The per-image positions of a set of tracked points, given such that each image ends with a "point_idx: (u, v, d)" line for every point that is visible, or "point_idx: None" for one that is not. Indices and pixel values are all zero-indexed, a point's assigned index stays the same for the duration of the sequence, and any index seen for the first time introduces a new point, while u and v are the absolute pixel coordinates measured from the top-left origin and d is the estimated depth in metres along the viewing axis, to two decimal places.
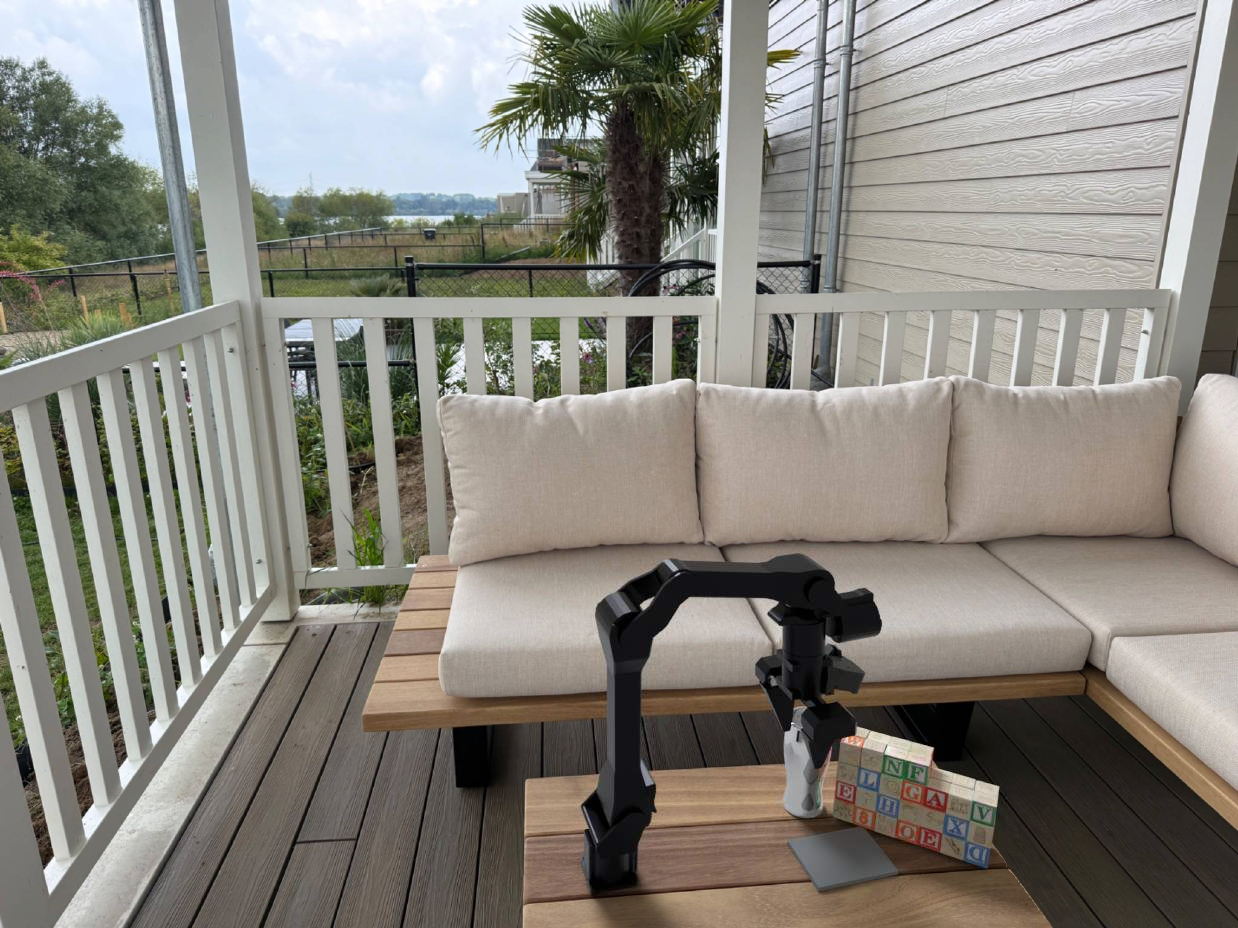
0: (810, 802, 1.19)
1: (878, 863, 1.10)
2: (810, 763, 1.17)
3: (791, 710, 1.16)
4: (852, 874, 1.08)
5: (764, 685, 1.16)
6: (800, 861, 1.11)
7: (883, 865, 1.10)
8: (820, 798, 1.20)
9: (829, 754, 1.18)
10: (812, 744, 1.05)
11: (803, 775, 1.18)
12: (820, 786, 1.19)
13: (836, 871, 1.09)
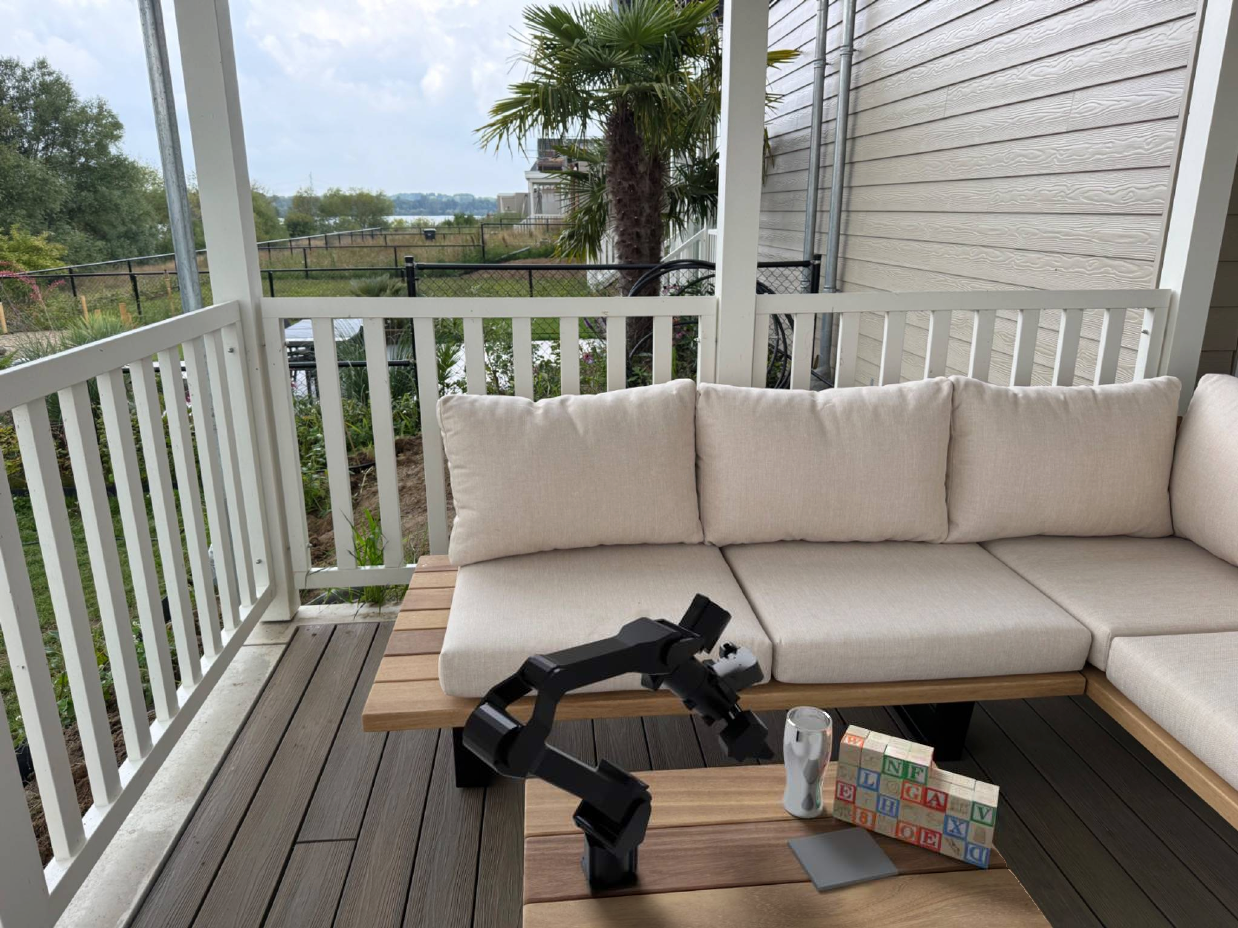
0: (810, 802, 1.19)
1: (878, 863, 1.10)
2: (810, 763, 1.17)
3: (736, 705, 1.20)
4: (852, 874, 1.08)
5: None
6: (800, 861, 1.11)
7: (883, 865, 1.10)
8: (820, 798, 1.20)
9: (829, 754, 1.18)
10: None
11: (802, 775, 1.18)
12: (820, 786, 1.19)
13: (836, 871, 1.09)
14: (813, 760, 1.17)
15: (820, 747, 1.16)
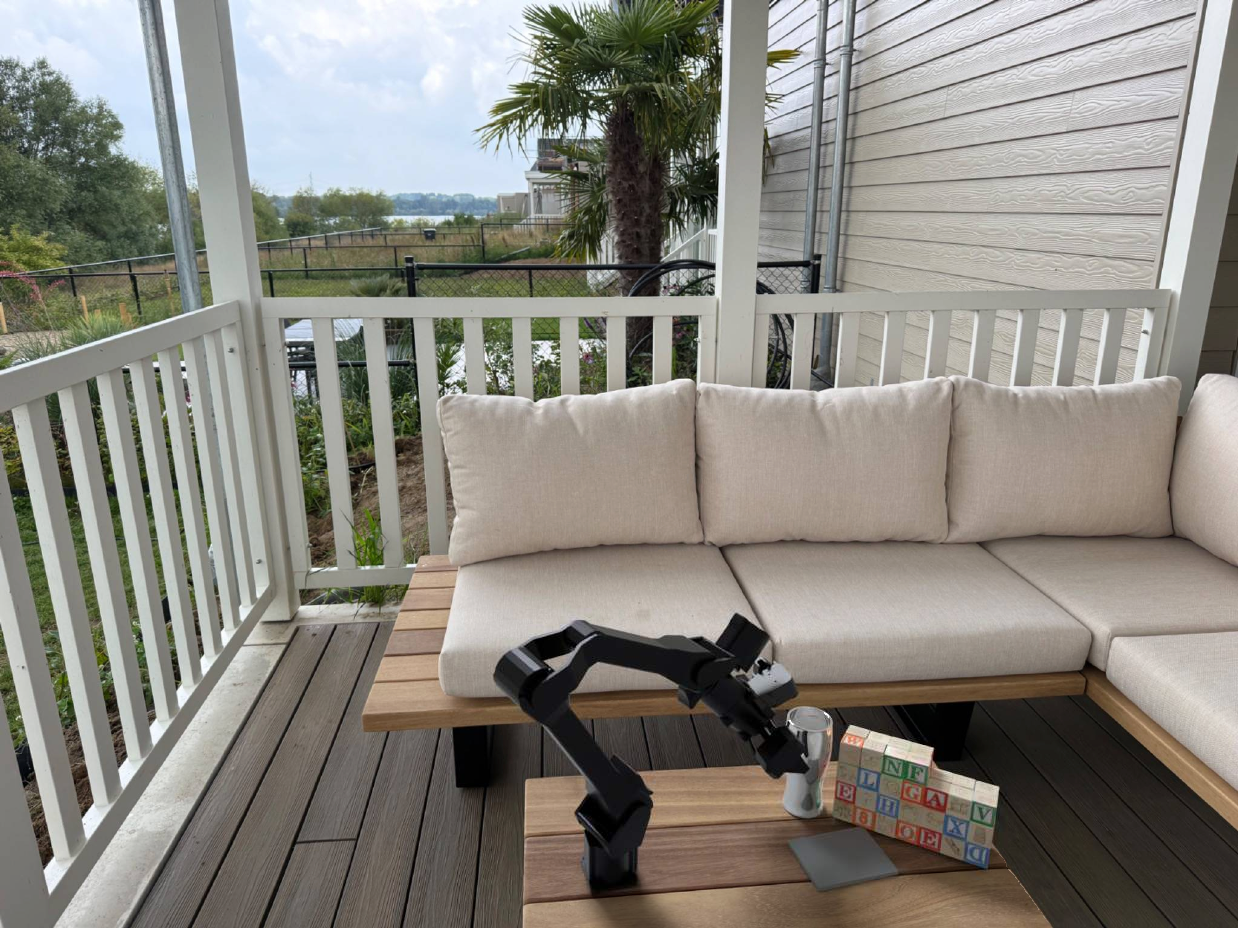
0: (810, 802, 1.19)
1: (878, 863, 1.10)
2: (810, 763, 1.17)
3: None
4: (852, 874, 1.08)
5: None
6: (800, 861, 1.11)
7: (883, 865, 1.10)
8: (820, 798, 1.20)
9: (829, 754, 1.18)
10: None
11: (803, 775, 1.18)
12: (820, 786, 1.19)
13: (836, 871, 1.09)
14: (813, 760, 1.17)
15: (820, 747, 1.16)
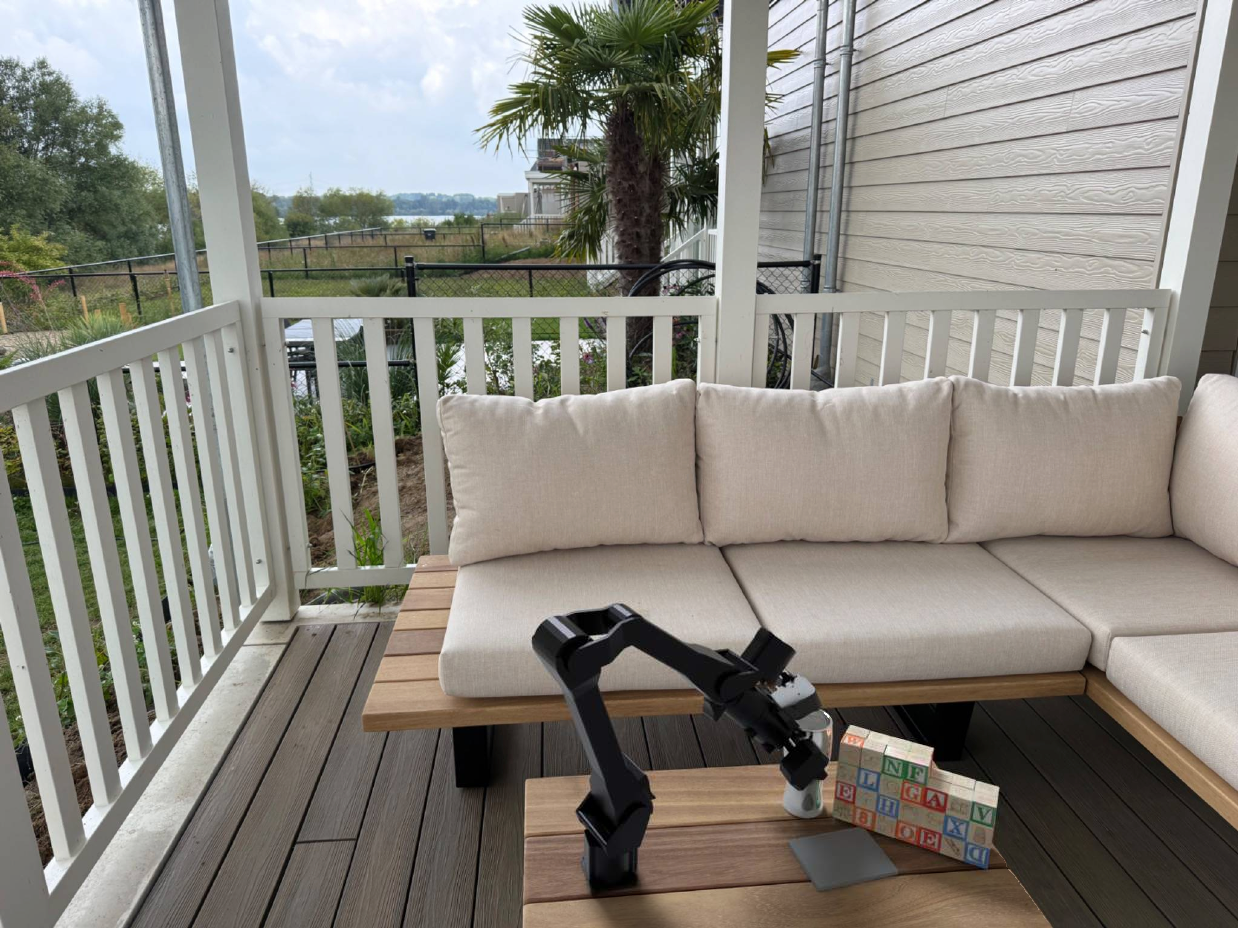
0: (810, 802, 1.19)
1: (878, 863, 1.10)
2: None
3: None
4: (852, 874, 1.08)
5: None
6: (800, 861, 1.11)
7: (883, 865, 1.10)
8: (820, 798, 1.20)
9: (829, 754, 1.18)
10: None
11: None
12: (820, 786, 1.19)
13: (836, 871, 1.09)
14: None
15: (820, 747, 1.16)
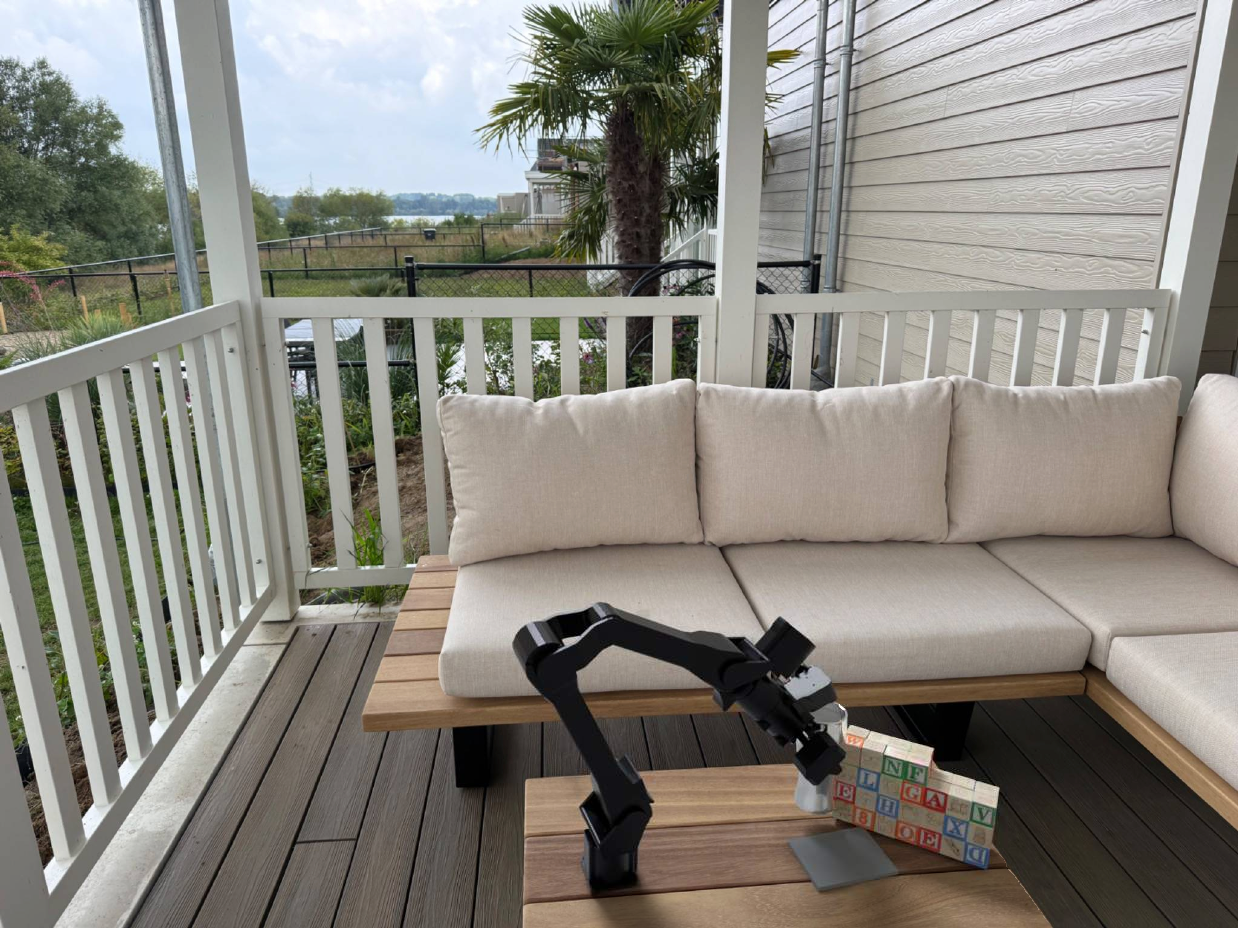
0: (823, 798, 1.15)
1: (878, 863, 1.10)
2: None
3: None
4: (852, 874, 1.08)
5: None
6: (800, 861, 1.11)
7: (883, 865, 1.10)
8: (834, 794, 1.16)
9: (844, 748, 1.13)
10: None
11: None
12: (834, 781, 1.15)
13: (836, 871, 1.09)
14: None
15: None
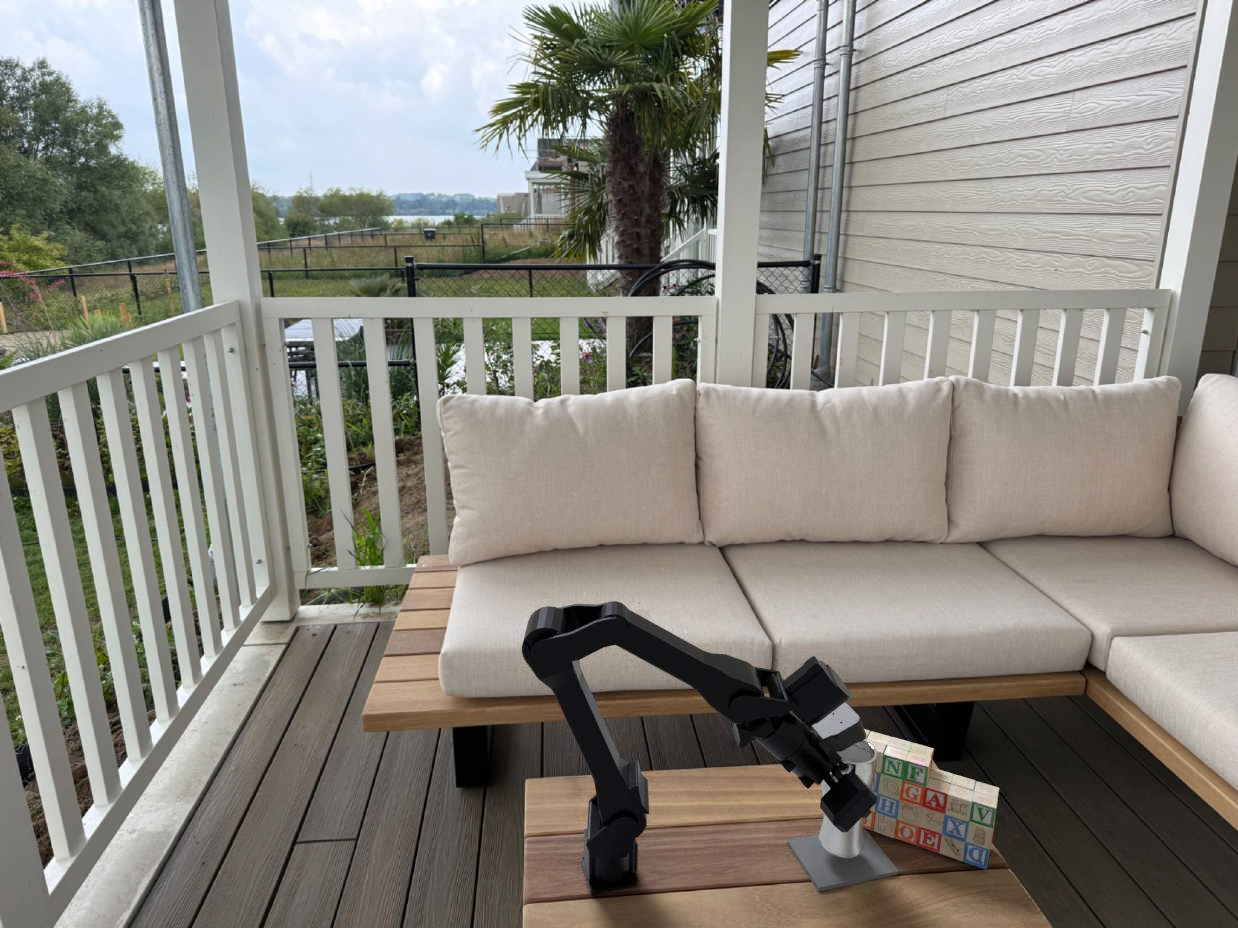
0: (851, 841, 1.08)
1: (878, 863, 1.10)
2: None
3: None
4: (852, 874, 1.08)
5: None
6: (800, 861, 1.11)
7: (883, 865, 1.10)
8: (861, 836, 1.09)
9: (873, 789, 1.06)
10: None
11: None
12: (862, 823, 1.08)
13: (836, 871, 1.09)
14: None
15: None
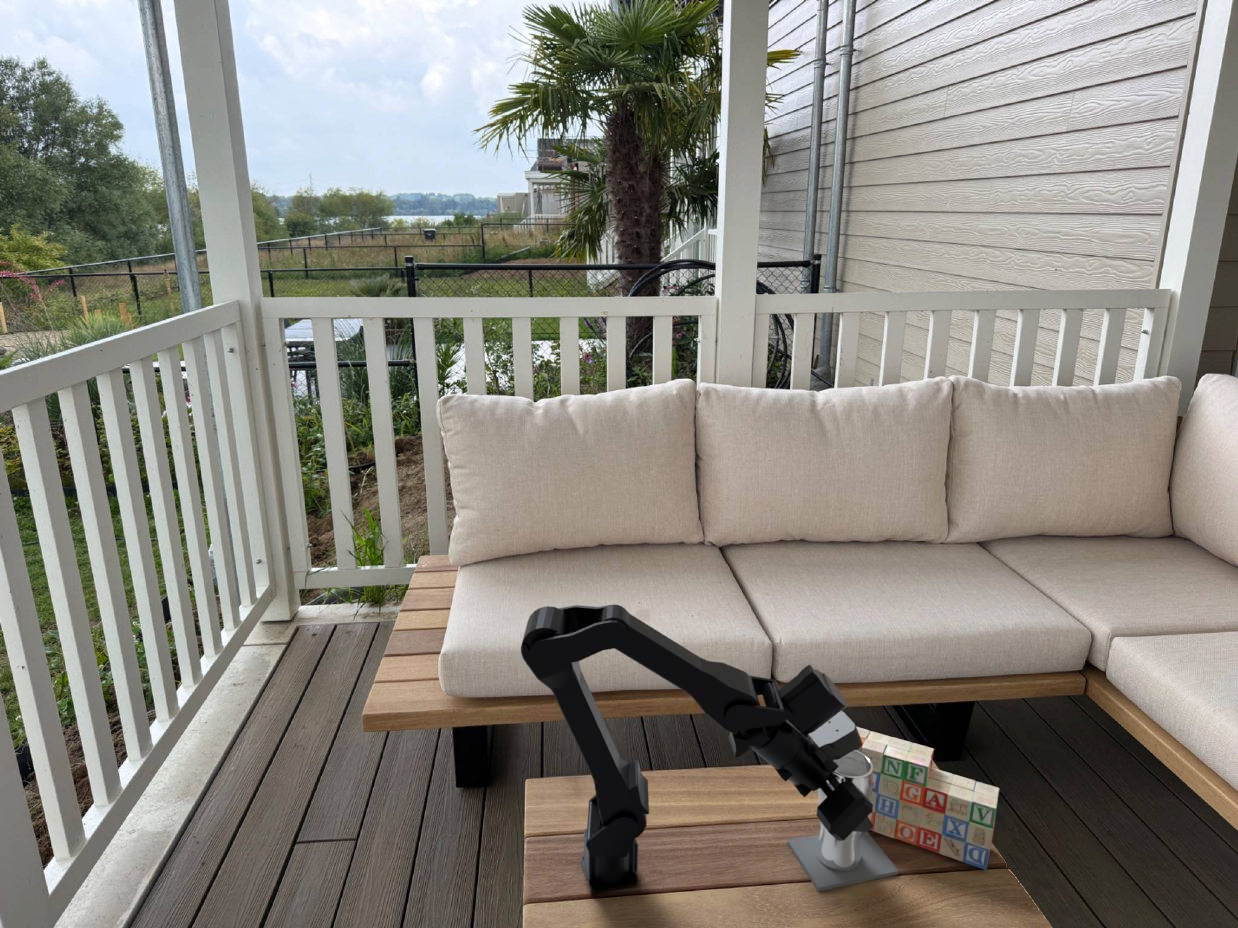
0: (847, 854, 1.08)
1: (878, 863, 1.10)
2: None
3: None
4: (852, 874, 1.08)
5: None
6: (800, 861, 1.11)
7: (883, 865, 1.10)
8: (858, 849, 1.09)
9: None
10: None
11: None
12: (858, 836, 1.08)
13: (836, 871, 1.09)
14: None
15: None
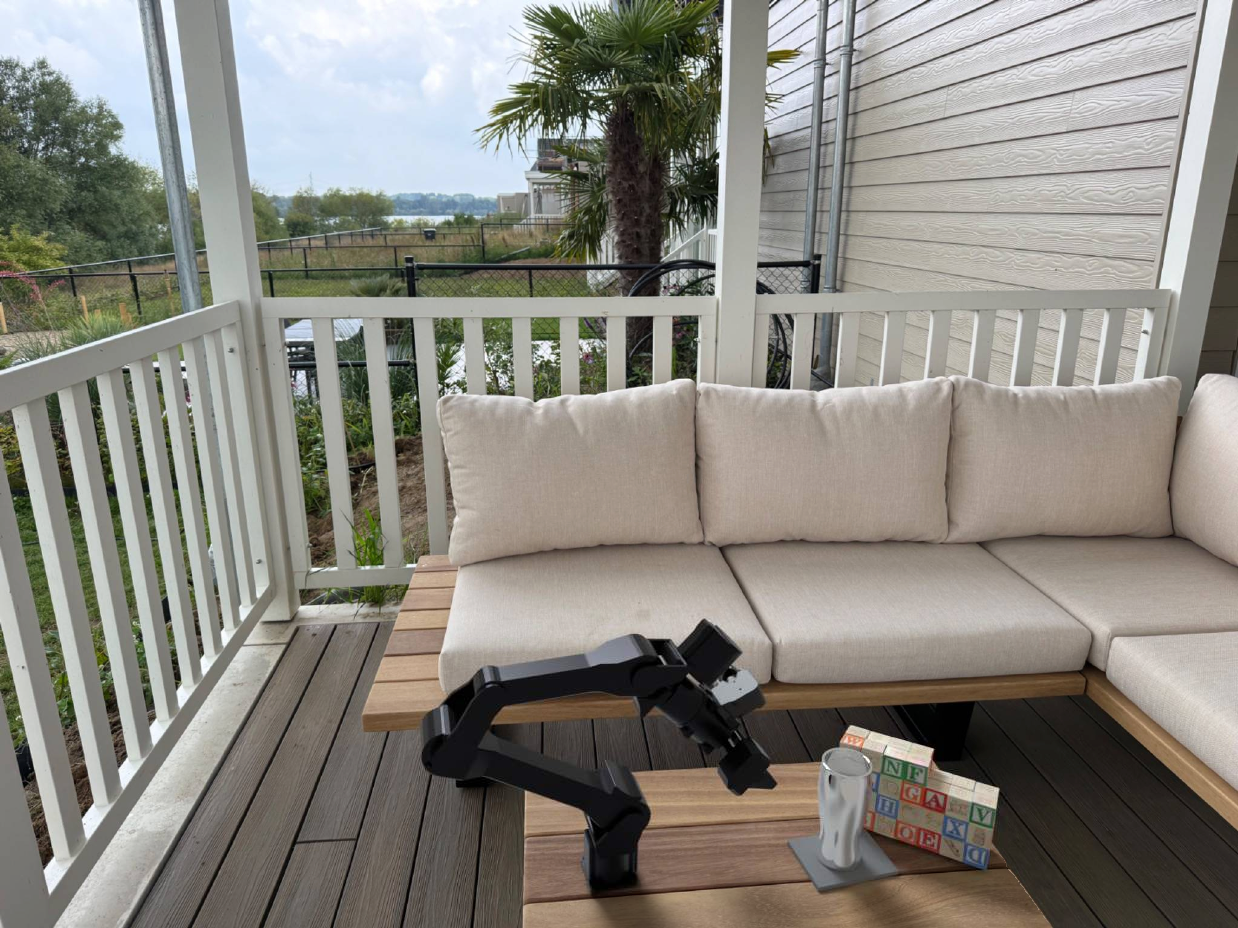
0: (847, 854, 1.08)
1: (878, 863, 1.10)
2: (848, 812, 1.06)
3: (736, 730, 1.14)
4: (852, 874, 1.08)
5: None
6: (800, 861, 1.11)
7: (883, 865, 1.10)
8: (858, 849, 1.09)
9: (868, 802, 1.07)
10: None
11: (839, 825, 1.07)
12: (858, 836, 1.08)
13: (836, 871, 1.09)
14: (852, 809, 1.06)
15: (859, 795, 1.05)
